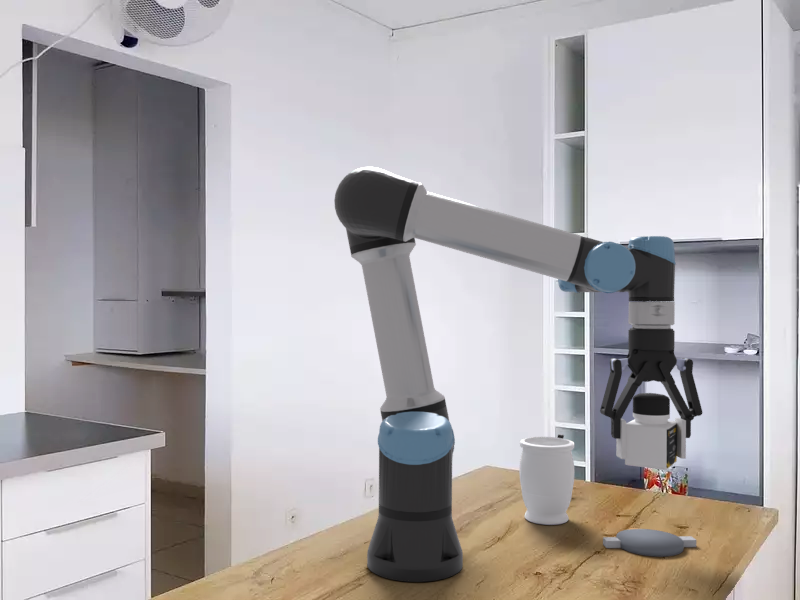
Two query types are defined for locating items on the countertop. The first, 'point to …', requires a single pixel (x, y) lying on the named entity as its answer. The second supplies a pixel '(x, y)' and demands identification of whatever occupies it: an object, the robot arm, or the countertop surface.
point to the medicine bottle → (651, 433)
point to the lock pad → (649, 542)
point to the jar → (546, 478)
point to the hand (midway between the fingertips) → (650, 457)
